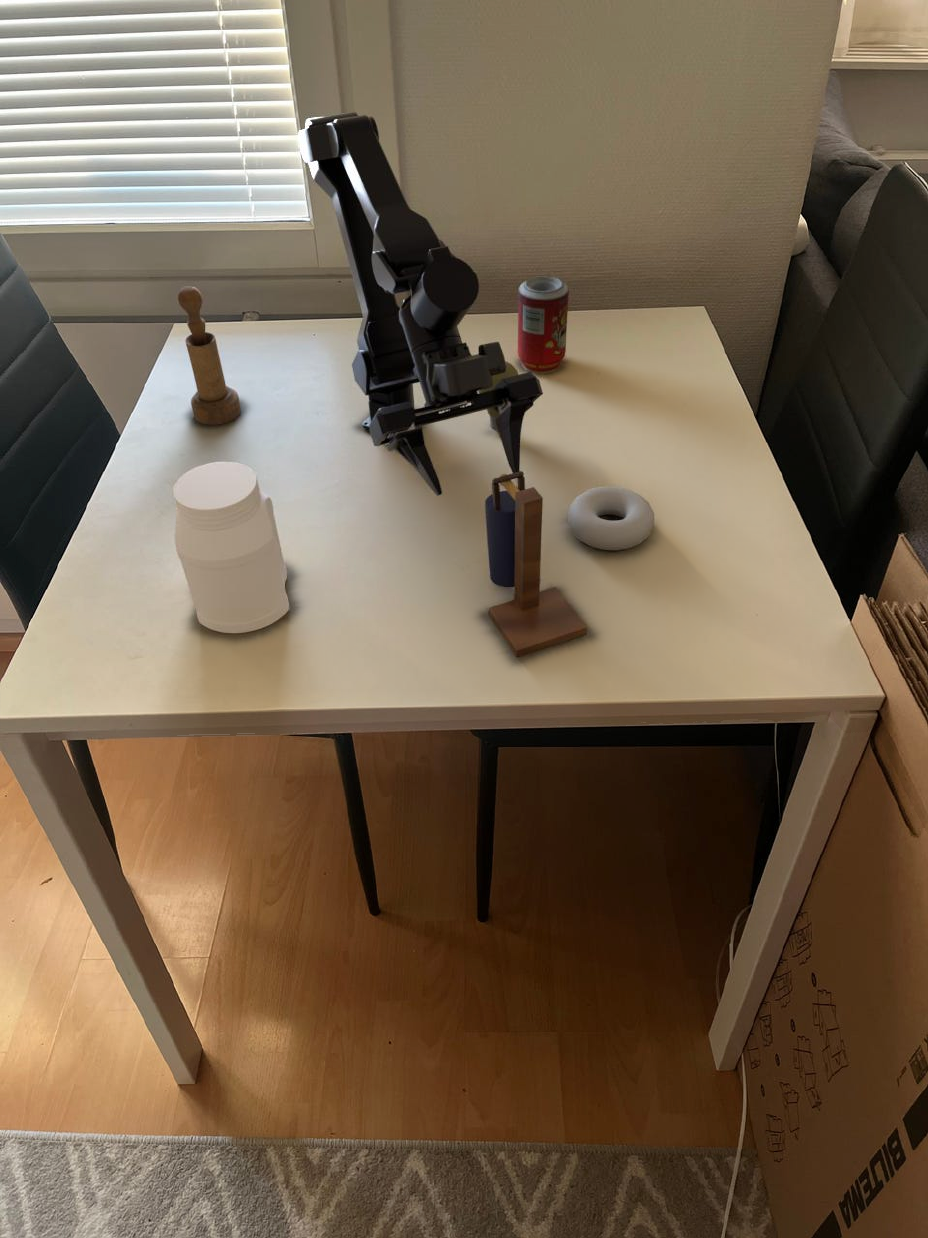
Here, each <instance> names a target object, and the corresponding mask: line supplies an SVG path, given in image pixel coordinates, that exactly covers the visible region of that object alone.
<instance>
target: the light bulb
mask: <svg viewBox="0 0 928 1238" xmlns="http://www.w3.org/2000/svg"><path fill="white" fill-rule="evenodd" d="M505 364H506V371H505V373H501V374H497V375H493V376H492V382H493V386H492V387H490V388H486V389H482V390H478V391H477V392H478V394H479V393H483V392H487V391H491V390H492V389H493V388H494V387H495V386H496V385H497V384H498V383H499V382H500V381H501V380H502V379H503V378H507V377H511V376H515V375H519V371H518V370H517V369H516V367H515V366H514V365H513V364H512V363H511V362H509V361H507V360H505ZM486 411H487V414H488V415H489V427H490V428H491V429H492V430H494V431H496V432H498V428H497V425H496V422H495V419H496V418H497V417H498V416H499V415H500V414H499V412H497V411H496V410H494V408H490V409H486ZM498 433H499V432H498Z"/></svg>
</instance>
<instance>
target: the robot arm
mask: <svg viewBox="0 0 928 1238" xmlns="http://www.w3.org/2000/svg"><path fill="white" fill-rule="evenodd" d="M304 124H305V125H304V127H305V128H304V129H301V130H299V131H298V144H299V149H300V153H301V156H302V159H303V161H304V163H305V164H306V163H307V164H308V166H309V170H310V172H311V176H312V179H313V181H314V183H316V184H317V186H318V187H320V189H322V191H323V192H324V193H325V194H326V195H327V196H328V197H330V199H331V201H332V205H333V209H334V212H335V216H336V220H337V223H338V226H339V231H340V235H341V239H342V243H343V245H344V249H345V253H346V257H347V261H348V264H349V269H350V273H351V276H352V280H353V284H354V287H355V288H354V289H355V291H356V294H357V298H358V302H359V306H360V310H361V314H362V318H361V322H360V327H359V330H358V334H357V337H356V343H357V348H358V350H357V352H356V354H355V356H354V359H353V361H352V363H351V368H352V373H353V378H354V381H355V383H356V384H357V386H358V387H359V389H360V390H361V391H362V393H363V394H364V396H365V397H366V396H368V411H369V416H368V417H367V418H366V419H365V420H364V421H363V422H362V423H361V424H362V425H361V426H362V428H363V429H366V430H369V433H370V436H371V439H372V444H373V446H374V447H380V446H384V445H386V449H387V451H388V452H391V451H392V452H393V451H396V452H398V454H400V455H401V457H402V458H404V459H405V460H406V461H407V462H408V463H409V464H410V465H411V466H412V467H413V468H414V470H415V471H416V472H417V473H418V474H419V476H420V477H421V478H422V480H423V481H424V482H425V483H426V484H427V486H428V487H429V488H430V489H431V490H432V492H433V493H434V494H435V495H436V496H437V497H439V496H441V495H443V490H442V486H441V483H440V479H439V476H438V473H437V472H436V469H435V467H434V463H433V461H432V459H431V456H430V453H429V451H428V449H427V446H426V441H425V436H424V431H423V427H422V426H427V425H431V424H434V423H438V422H442V421H446V420H450V419H454V418H458V417H459V418H460V417H463V416H467V415H470V414H474V413H479V412H482V411H487V409H490V408H494V410H496V411H497V412H499V414H500V415H499V416H498V417H497V418H496V419H495V422H496V425H497V428H498V435H499V438H500V441H501V445H502V448H503V450H504V454H505V456H506V457H505V458H506V460H507V464H508V467H509V468H510V470H511V472H512V473H515V472H519V471H521V469H520V468H521V439H522V438H521V436H522V435H521V434H522V426H523V421H524V417H525V414H526V412H527V411H528V410H530V409H531V408H532V407H533V406H534V402H535V401H537V400H538V399H539V398H540V397H542V395H543V394H544V392H543V389H542V386H541V382H540V379H539V378H538V377H537V376H536V375H535V374H533V372H531V371H528V372H524V373H520V374H519V373H518V374H519V375H515V376H511V377H507V378H503V379H502V380H501V381H500V382H499V383H498V384H497V385H496V386H495V387H494V388H493V389H492V390H491V391H487V392H483V393H479V392H478V390H482V389H486V388H490V387H492V386H493V382H492V376H493V375H497V374H501V373H505V371H506V364H505V361H506V359H505V355H504V352H503V349H502V347H501V344H500V341H491V342H489V343H483V344H480V345H478V350H477V351H478V353H477V354H472V353H471V351H470V347H469V346H468V344H467V342H463V341H462V338H461V334H460V332H459V331H460V330H459V327H458V326H459V325H460V323H461V322H462V320H463V319H464V317H465V316H466V315H467V313H468V312H469V310H470V309H471V307H472V306H473V304H474V303H475V301H476V300H477V297H478V295H479V292H480V291H479V289H480V283H479V278H478V276H477V273H476V272H475V271H474V270H473V268H472V267H471V266H470V265H469V264H468V263H467V262H465V261H464V260H462V259H461V258H458V257H456V255H455V254H453V253H452V251H451V250H450V248H449V246H448V245H446V244H445V242H444V241H443V240H442V239H441V238H439V236H438V234H437V233H436V231H435V229H434V227H433V226H432V224H431V222H430V221H429V219H427V218H426V217H425V216H423V215H421V214H419V213H418V212H416V211H414V210H412V209H411V207H410V205H409V204H408V201H407V199H406V197H405V194H404V192H403V190H402V188H401V186H400V184H399V182H398V180H397V177H396V175H395V172H394V171H393V169H392V166H391V164H390V161H389V159H388V157H387V155H386V153H385V151H384V148H383V147H382V145H381V142H380V135H379V130H378V129H379V128H378V125H377V123H376V120H375V118H374V117H373V116H368V115H367V114H360V115H358V113H357V112H355V111H349V112H343V113H337V114H331V115H324V116H317V117H311V118H307V119H306V120H305V123H304ZM406 292H410V295H409V296H408V297H406V298H403V299H402V305H401V306H399V304H398V302H397V298H396V294H400V293H406ZM417 383H419V385H420V388H421V391H422V394H423V397H424V400H425V403H424V404H423V405H424V406H422V407H419V408H415V397H414V384H417Z"/></svg>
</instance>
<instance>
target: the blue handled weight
mask: <svg viewBox="0 0 928 1238" xmlns="http://www.w3.org/2000/svg"><path fill="white" fill-rule="evenodd" d="M524 475H525V473H524V472H523V470H520V471H519V472H515V473H513V472H512V473H509V474H507V475H504V476H501V477H499V476H497V477H494V478H493V479H492V483H491V491H492V493H491V494H490V495H488V496H487V497H486V498H485V500H484V508H485V509H484V511H485V525H486V526H485V527H486V540H487V542H486V543H487V555H488V569H489V579H490V581H491V583H492V584H494V585H496V586H498V587H501V588H508V589H510V588H511V589H512V588H514V585H515V500H514V499H513V498H512V497H511V495H510V494H509V493H508V492H507V490H501V489H500V483H502V482H505V481H509V480H511V481H513V480H517V488H518V489H519V490H520V491H521V490H525V489H526V478H525V476H524Z"/></svg>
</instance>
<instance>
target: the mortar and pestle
mask: <svg viewBox="0 0 928 1238" xmlns="http://www.w3.org/2000/svg"><path fill="white" fill-rule="evenodd" d="M177 300H178V304H179V306H180V307H181V308H182V309H183V310H184V311H185V313H187V315H188V321H187V322H186V324H187V328H188V330H189V331H190V333H191V334H189V335H188V336H187V337H186V338H185V340H184V341H185V345H186V350H187V353H188V357H189V361H190V365H191V368H192V373H193V378H194V382H195V386H196V392H195V394H193V396H192V397H191V399H190V406H191V409H192V413H193V417H194V419H195V420H196V421H197V422H199V423H200V424H203V425H212V426H213V425H222V424H225V423H228V422H230V421H232V420H234V419H236V418H237V417H238V416H239V415H240V414H241V411H242V407H241V402H240V397H239V394H238V392H237V390H235V389H234V388H232V387H229V386H227V384H226V380H225V375H224V371H223V366H222V362H221V358H220V352H219V347H218V343H217V339H216V336H215V334H213V333H211V332H208V331H206V319H204V318H202V317H201V316H200V315H201V310H202V306H203V301H204V300H203V295H202V293H201V292H200V290H199V289H198V288H197V287H195V286H191V285H188V286H184V287H182V288H181V289H180V290H179V292H178V294H177Z"/></svg>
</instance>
